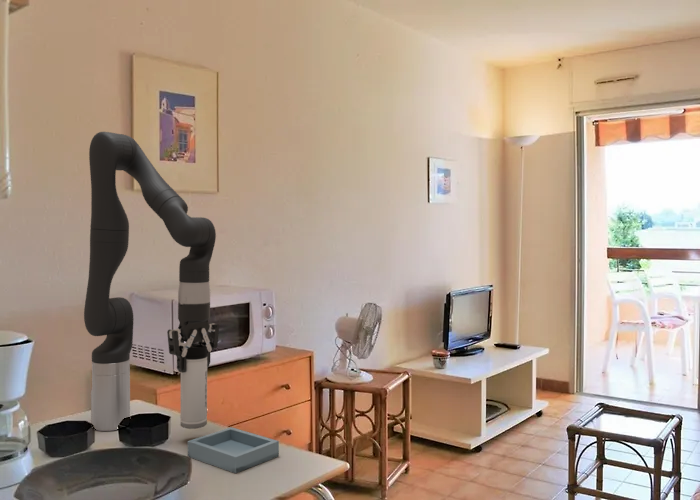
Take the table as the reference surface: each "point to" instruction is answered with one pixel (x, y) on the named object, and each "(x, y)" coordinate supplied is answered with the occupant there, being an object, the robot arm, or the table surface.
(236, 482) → the table surface
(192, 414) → the travel mug
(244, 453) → the slate tray
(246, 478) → the table surface
